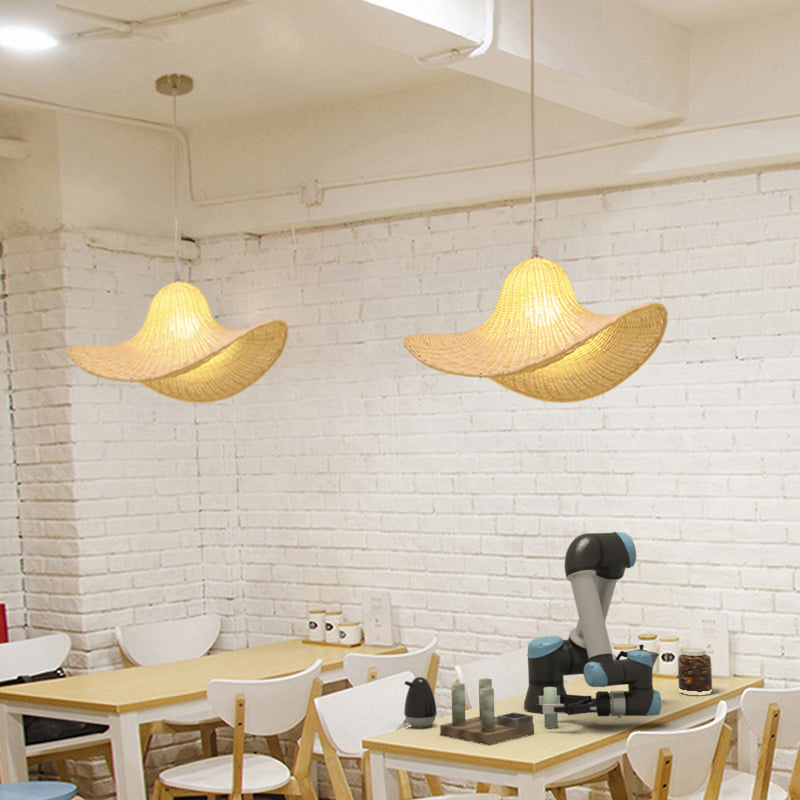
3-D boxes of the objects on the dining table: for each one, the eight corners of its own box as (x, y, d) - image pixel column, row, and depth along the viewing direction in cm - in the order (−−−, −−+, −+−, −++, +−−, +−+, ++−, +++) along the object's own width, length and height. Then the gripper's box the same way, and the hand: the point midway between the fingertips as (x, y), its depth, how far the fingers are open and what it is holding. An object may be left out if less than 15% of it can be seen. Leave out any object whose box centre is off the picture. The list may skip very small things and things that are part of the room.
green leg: (542, 726, 363) (541, 687, 364) (552, 725, 365) (551, 686, 366) (549, 729, 360) (548, 689, 361) (560, 727, 362) (559, 688, 362)
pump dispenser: (398, 725, 371) (397, 676, 372) (427, 721, 375) (426, 673, 376) (413, 730, 362) (412, 681, 363) (442, 727, 366) (441, 677, 367)
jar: (719, 693, 412) (718, 650, 413) (696, 697, 406) (694, 653, 407) (695, 688, 422) (693, 646, 423) (671, 692, 416) (670, 649, 417)
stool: (440, 735, 355) (439, 685, 356) (485, 724, 368) (484, 676, 369) (488, 745, 340) (487, 692, 341) (534, 734, 354) (532, 683, 355)
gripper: (615, 724, 350) (544, 725, 350) (604, 708, 374) (538, 708, 375) (615, 699, 350) (543, 700, 351) (603, 684, 375) (537, 685, 376)
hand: (540, 704), depth 363 cm, fingers open, 13 cm apart
